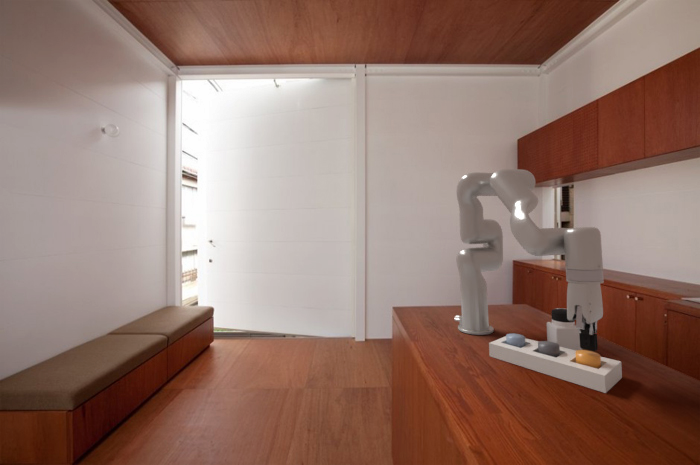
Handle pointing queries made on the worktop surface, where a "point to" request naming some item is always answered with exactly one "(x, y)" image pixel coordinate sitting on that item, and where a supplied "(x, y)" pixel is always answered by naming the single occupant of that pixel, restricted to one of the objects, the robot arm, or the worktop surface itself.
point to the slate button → (515, 340)
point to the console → (559, 364)
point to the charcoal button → (549, 348)
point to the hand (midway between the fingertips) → (588, 348)
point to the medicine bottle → (563, 330)
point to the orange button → (588, 358)
